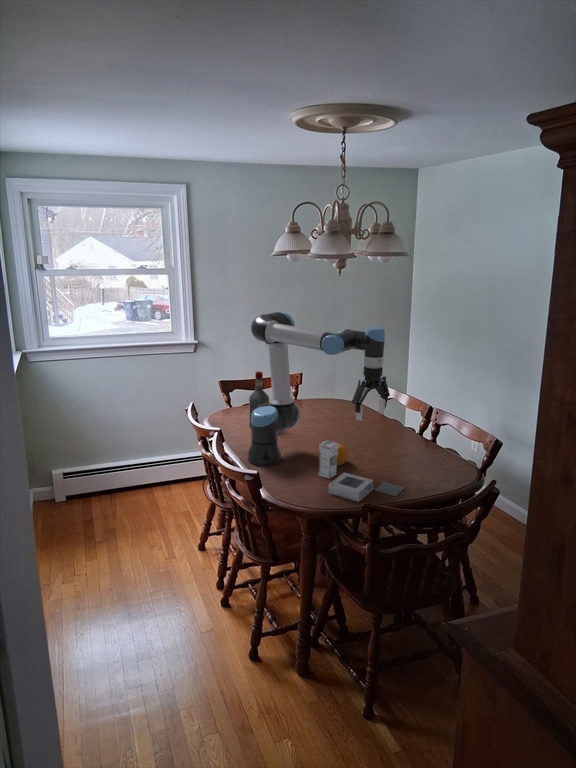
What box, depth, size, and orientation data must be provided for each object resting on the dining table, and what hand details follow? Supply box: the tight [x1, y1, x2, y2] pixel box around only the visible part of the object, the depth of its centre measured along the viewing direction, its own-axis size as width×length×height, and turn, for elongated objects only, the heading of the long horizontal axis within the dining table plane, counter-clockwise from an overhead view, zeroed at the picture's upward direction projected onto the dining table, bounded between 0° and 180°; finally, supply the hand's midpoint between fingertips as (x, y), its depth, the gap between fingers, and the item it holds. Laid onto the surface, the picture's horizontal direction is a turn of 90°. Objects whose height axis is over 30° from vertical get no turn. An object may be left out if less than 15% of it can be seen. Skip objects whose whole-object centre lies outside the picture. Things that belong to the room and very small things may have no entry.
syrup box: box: [317, 440, 339, 480], centre depth 220 cm, size 6×6×14 cm
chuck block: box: [328, 472, 375, 503], centre depth 207 cm, size 13×13×4 cm
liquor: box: [248, 370, 270, 429], centre depth 277 cm, size 9×9×30 cm
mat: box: [373, 481, 405, 498], centre depth 209 cm, size 9×9×1 cm
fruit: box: [334, 441, 349, 467], centre depth 233 cm, size 12×12×10 cm
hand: (370, 416), depth 216 cm, fingers open, 13 cm apart
